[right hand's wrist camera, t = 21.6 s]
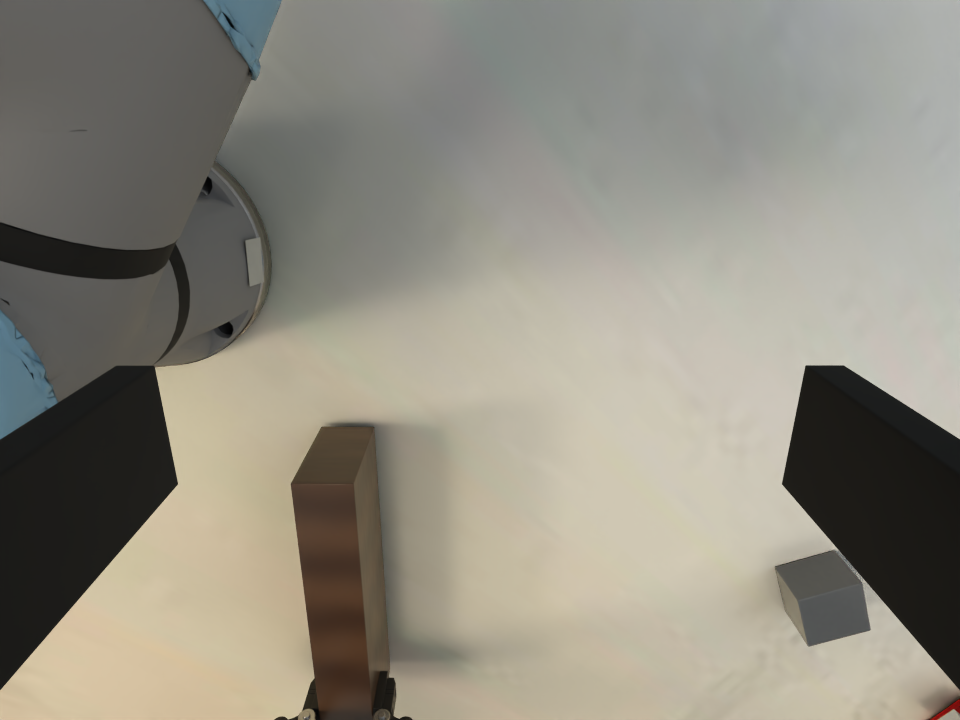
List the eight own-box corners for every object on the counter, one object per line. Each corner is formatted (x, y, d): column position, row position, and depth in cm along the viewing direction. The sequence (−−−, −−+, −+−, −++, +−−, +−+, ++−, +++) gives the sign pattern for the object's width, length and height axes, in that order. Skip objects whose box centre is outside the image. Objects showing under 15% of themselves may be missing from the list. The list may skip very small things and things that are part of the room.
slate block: (785, 610, 53) (808, 647, 49) (774, 566, 51) (797, 600, 47) (843, 595, 52) (871, 630, 49) (834, 549, 51) (862, 582, 47)
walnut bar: (390, 668, 54) (376, 753, 47) (345, 668, 54) (324, 753, 47) (374, 426, 46) (353, 483, 38) (321, 426, 46) (290, 483, 38)
